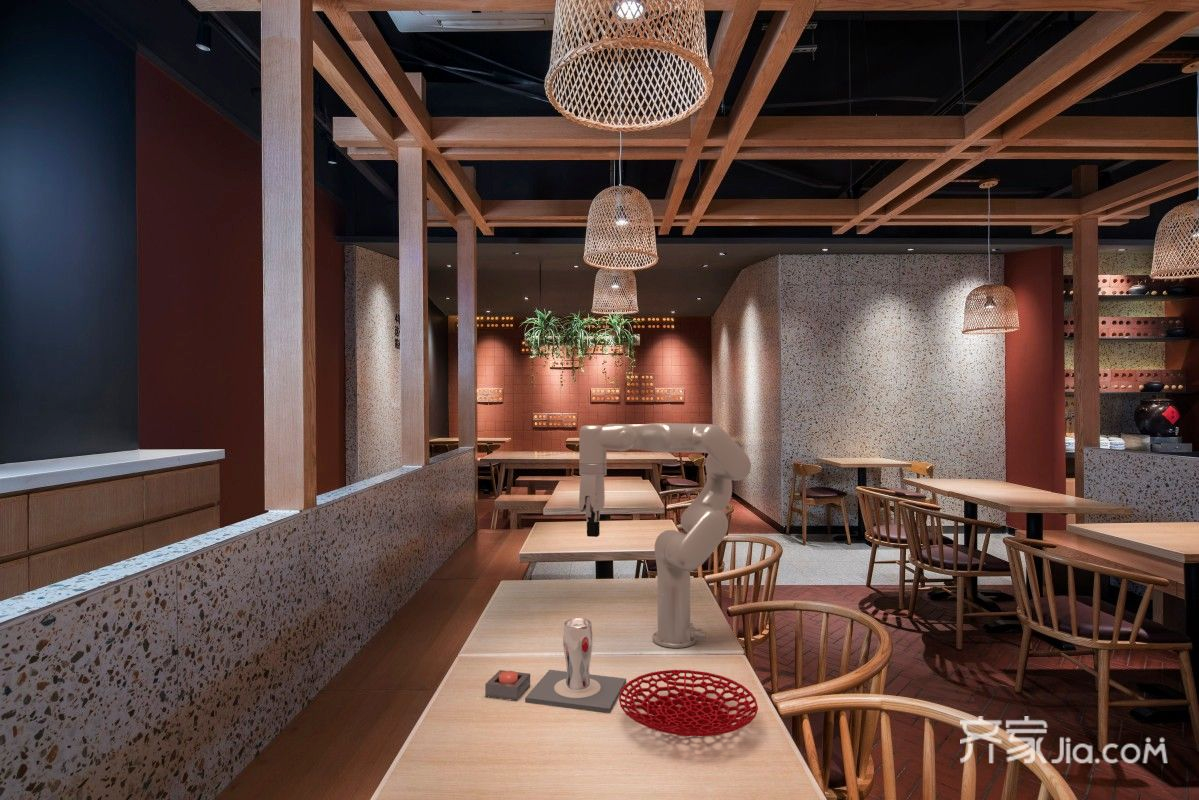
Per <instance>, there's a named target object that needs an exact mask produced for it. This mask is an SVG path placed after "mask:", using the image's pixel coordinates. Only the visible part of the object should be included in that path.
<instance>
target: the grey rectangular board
mask: <svg viewBox="0 0 1199 800" xmlns="http://www.w3.org/2000/svg"><path fill="white" fill-rule="evenodd" d="M566 677H567V671H566V670H565V671H563V670H558V669H557V670H555V669H548V671H547V672H546V673H545V674H544V675H543V676H542V677H541V679H540V680H539V681H538V682H537V684H535V686H534V687H533V688H532V689H531V690H530V691H529V693H528V694H527V695H526V696H525V697H524V702H525V703H530V704H536V705H537V704H538V705H545V706H552V707H561V708H567V709H575V710H582V711H583V710H584V711H591V712H598V713H605V714H610V713H611V711H612V710H613V708H614V706H615V704H616V702H617V700H619V695H620V691H621V690H622V688H623V687H624V686H625V685H626V684H627V678H625V677H624V678H623V677H615V676H606V675H599V674H590V673H589V677H590V682H591V687H590V688H589V689H588V690H586V691H582V692H573V691H569V690H567V689H566V687H565V683H566Z"/></svg>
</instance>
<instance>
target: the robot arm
mask: <svg viewBox="0 0 1199 800" xmlns="http://www.w3.org/2000/svg"><path fill="white" fill-rule="evenodd" d="M578 432H579V433H578V435H579V437H578V438H579V441H578V442H579V447H578V448H579V455H578V457H579V458H578V459H579V467H578V468H579V469H578V470H579V473H578V474H579V476H580V481H579V497H578V510H579V512H581V513H583V512H585V518H586V536H587V537H589V538H591V537H592V538H593V537H594V538H598V537H599V536H600V518H601V515H600V514H601V510H602V509H603V508H605V507H604V506H605V501H606V500H605V498H606V497H605V495H606V493H605V478H604V477H605V476H607V475H608V474H607V451H617V452H625V451H629V450H640V451H649V452H653V453H654V452H655V453H701V454H702V453H704V454H708V455H707V456H706V459H705V472H706V482H705V484H704V487H703V488H702V490H701V491H700V493H699V494H698V495H697V496H696V497H695V498H694V499H693V501H692V502H691V503H690V504H689V505H688V507H687V508H686V509H685V510H684V512H683V513H682V514H681V518H680V526H681V527H682V529H683V530H684V531H685V532H686V533H684V532H681V531H678V530H676V529H668V530H664V531H662V532H661V533H660V534H659V535H658V536H657V537H656V539H655V542H654V557H655V563H656V572H657V573H656V574H657V577H656V579H657V590H656V591H657V630H656V631H655V632H653V634H652V635H651V636H652V641H653V643H654V644H657V645H659V646H661V647H666V648H670V649H671V648H673V649H681V648H687V647H691V646H693V645H694V644H696V642H697V638H700V639H707V631H706V630H704V629H703V628H695V627H693V626H694V624H693V622H691V620H692V619H691V573H690V572H692V571H696V570H698V568H699V569H700V567H701V566H702V565H703V564H705V562H706V561H707V559H708V558H709V557H710V556H711V554H713V553H714V551H715V550H716V549H717V548H718V547H719V545H720V544H721V542H722V541H723V540H724V538H725V536H726V534H727V532H728V528H729V521H728V517H727V515H726V513H725V512H724V510H725V509H726V508H727V506H728V505H729V503H730V501H731V499H732V494H733V482H732V481H736V482H737V481H742V480H744V479H745V478H747V477H748V476H749V475H750V472H751V468H752V463H751V460H750V457H749V455H748V454H747V453H746V452H745V451H744V450H743V448H741V447H740V446H739V444H737V442H736V441H735V440H734V439H733V438H732V437H731V436H730V435H729V434H728V433H727V432H726V431H725V429H723V428H722V427H720V426H719V425H716V424H711V423H709V424H708V423H674V422H673V423H671V422H667V423H666V422H660V423H658V422H657V423H656V422H655V423H645V424H644V423H641V424H639V423H638V424H636V423H635V424H632V423H631V424H629V423H608V424H605V425H600V424H592V425H591V424H588V425H587V424H586V425H582V426H581V427H579V431H578Z"/></svg>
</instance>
